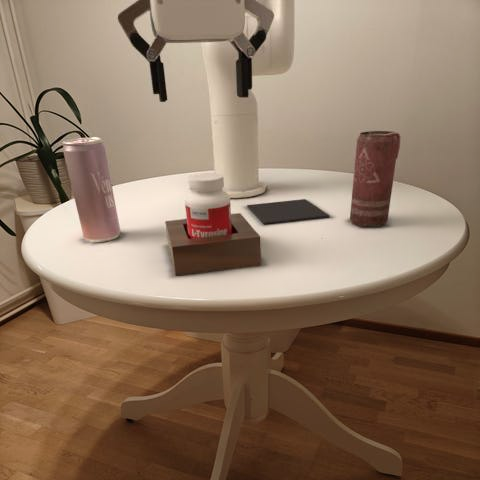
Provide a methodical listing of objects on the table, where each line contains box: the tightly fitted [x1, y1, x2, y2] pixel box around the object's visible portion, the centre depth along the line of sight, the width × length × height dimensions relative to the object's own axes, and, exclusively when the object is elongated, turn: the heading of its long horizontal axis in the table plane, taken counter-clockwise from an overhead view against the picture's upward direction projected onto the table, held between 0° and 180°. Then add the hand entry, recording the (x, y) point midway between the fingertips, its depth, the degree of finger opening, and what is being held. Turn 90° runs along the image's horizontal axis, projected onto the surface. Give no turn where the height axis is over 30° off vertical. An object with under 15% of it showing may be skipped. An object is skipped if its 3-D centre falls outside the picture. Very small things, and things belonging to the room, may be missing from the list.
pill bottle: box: [184, 172, 232, 239], centre depth 58 cm, size 6×6×11 cm
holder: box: [164, 212, 262, 277], centre depth 60 cm, size 12×12×4 cm
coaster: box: [246, 198, 330, 226], centre depth 78 cm, size 12×12×1 cm
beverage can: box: [62, 137, 121, 243], centre depth 66 cm, size 6×6×15 cm
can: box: [349, 130, 401, 228], centre depth 68 cm, size 6×6×14 cm
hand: (203, 99), depth 50 cm, fingers open, 9 cm apart
